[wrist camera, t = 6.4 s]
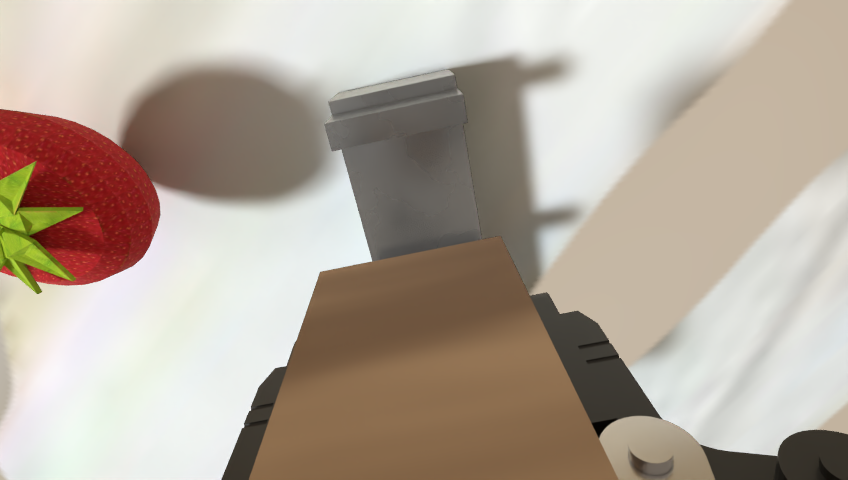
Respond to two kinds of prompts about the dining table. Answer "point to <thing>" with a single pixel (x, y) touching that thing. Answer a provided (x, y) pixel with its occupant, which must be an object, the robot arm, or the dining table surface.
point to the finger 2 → (428, 379)
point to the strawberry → (69, 202)
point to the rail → (407, 163)
